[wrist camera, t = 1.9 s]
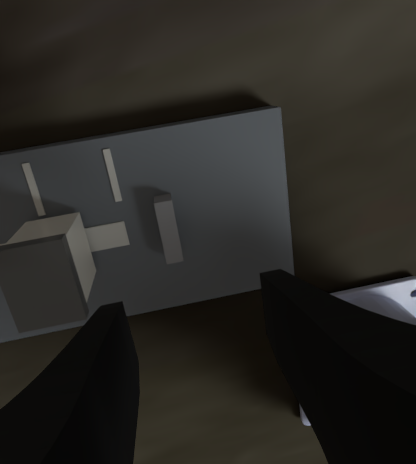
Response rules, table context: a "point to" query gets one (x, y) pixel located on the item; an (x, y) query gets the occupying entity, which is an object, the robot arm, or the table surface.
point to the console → (161, 208)
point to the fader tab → (47, 272)
